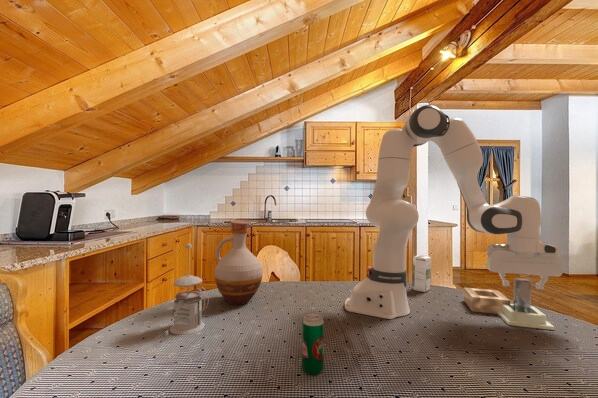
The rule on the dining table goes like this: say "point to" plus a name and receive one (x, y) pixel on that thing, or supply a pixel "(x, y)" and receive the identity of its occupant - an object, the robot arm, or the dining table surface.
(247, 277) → the jug
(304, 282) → the dining table surface
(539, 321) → the holder
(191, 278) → the french press
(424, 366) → the dining table surface
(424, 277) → the syrup box
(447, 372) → the dining table surface
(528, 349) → the dining table surface
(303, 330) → the soda can
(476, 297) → the bored block
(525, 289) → the axle
